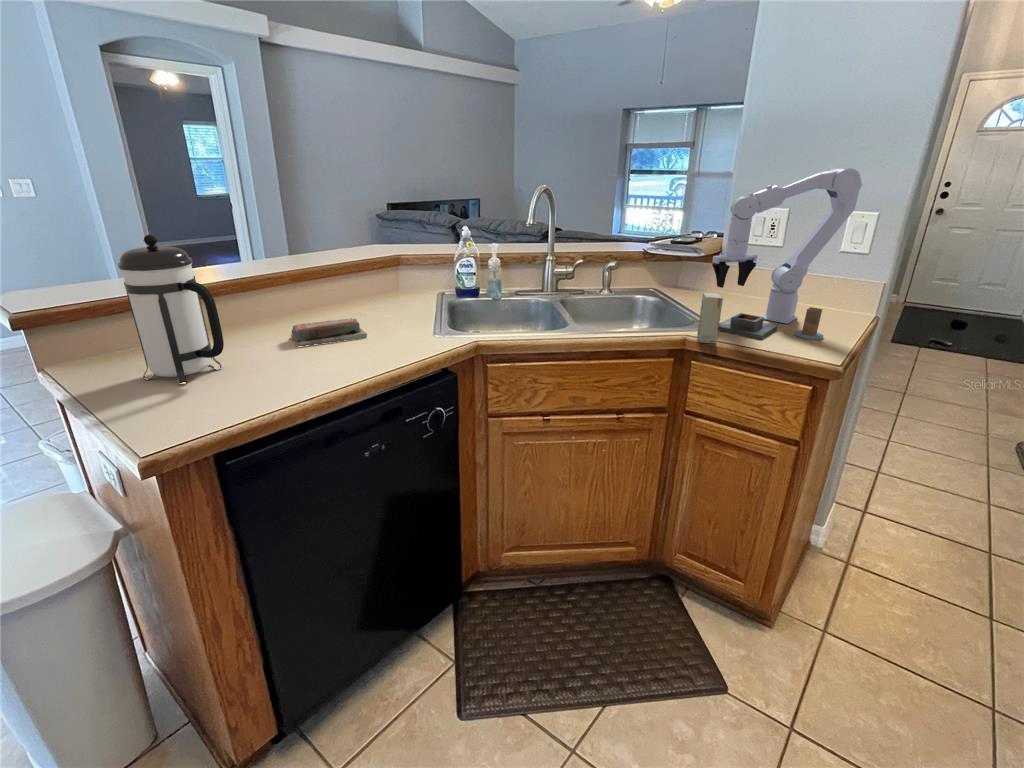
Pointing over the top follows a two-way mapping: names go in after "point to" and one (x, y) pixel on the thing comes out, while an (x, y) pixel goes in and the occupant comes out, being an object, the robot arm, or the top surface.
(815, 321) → the brown wooden block
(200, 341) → the coffee press
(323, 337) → the packaged product
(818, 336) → the coaster
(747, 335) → the grey square socket base
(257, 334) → the top surface
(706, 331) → the skincare box
